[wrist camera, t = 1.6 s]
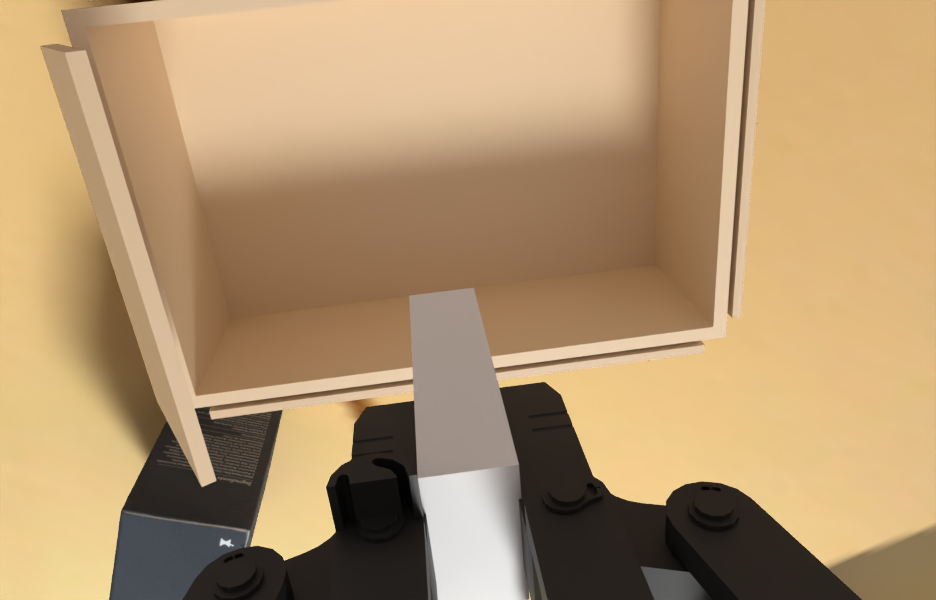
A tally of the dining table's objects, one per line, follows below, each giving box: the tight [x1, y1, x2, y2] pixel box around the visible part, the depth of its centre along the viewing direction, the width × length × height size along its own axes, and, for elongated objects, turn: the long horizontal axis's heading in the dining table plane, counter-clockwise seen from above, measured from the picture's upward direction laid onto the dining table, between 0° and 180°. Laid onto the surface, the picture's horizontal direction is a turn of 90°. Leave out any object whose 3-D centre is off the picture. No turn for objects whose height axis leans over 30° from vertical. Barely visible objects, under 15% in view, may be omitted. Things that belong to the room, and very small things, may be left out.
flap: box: [40, 44, 216, 487], centre depth 24 cm, size 1×14×7 cm, turn 6°
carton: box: [61, 0, 766, 419], centre depth 32 cm, size 25×17×9 cm
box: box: [109, 406, 282, 600], centre depth 37 cm, size 8×6×11 cm
